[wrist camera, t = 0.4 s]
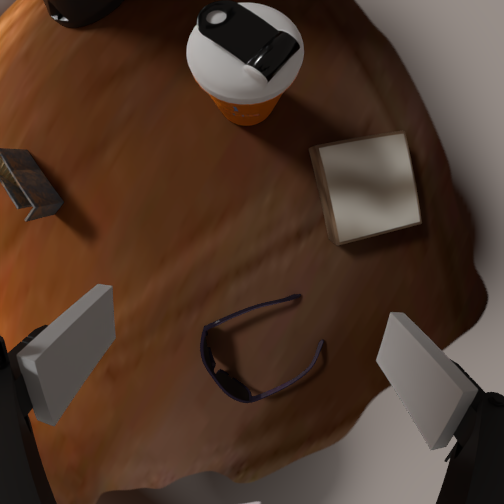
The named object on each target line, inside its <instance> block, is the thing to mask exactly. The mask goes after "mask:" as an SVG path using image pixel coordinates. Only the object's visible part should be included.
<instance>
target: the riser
mask: <svg viewBox="0 0 504 504" xmlns="http://www.w3.org/2000/svg"><path fill="white" fill-rule="evenodd" d="M309 153H310V157H311V161H312V165H313V170H314V174H315V178H316V182H317V187H318V191H319V195H320V200H321V204H322V209H323V214H324V218H325V223H326V228H327V233H328V238H329V240H330V241H331V242H333V243H334V244H335V245H337V246H338V245H342V244H346V243H350V242H353V241H357V240H361V239H365V238H369V237H373V236H377V235H380V234H384V233H388V232H392V231H396V230H399V229H403V228H407V227H411V226H415V225H418V224H422V221H421V214H420V207H419V201H418V194H417V188H416V183H415V177H414V172H413V167H412V162H411V157H410V152H409V148H408V143H407V139H406V135H405V131H396V132H389V133H383V134H376V135H370V136H364V137H358V138H352V139H347V140H341V141H336V142H330V143H325V144H320V145H315V146H313V147H311V148H309Z"/></svg>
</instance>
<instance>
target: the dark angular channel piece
mask: <svg viewBox="0 0 504 504" xmlns="http://www.w3.org/2000/svg"><path fill="white" fill-rule="evenodd" d="M0 182H1V183H2V185H3V187H4V188H5V190H6V191H7V193H8V195H9V196H10V198H11V199H12V201H13V203H14V204H15V206H16V208H17V209H20V208H25V207H31V206H33V209H32V210H31V211H30V213H29V214H28V216H27V217H26V219H25V221H30V220H34V219H38V218H42V217H46V216H50V215H54V214H55V213H56V212H57V211H58V209H59V208H60V207H61V206H62V204H63V203H64V201H63V200H62V199H61V197H60V196H59V195H58V193H57V192H56V191H55V189H54V188H53V186H52V185H51V184H50V182H49V181H48V179H47V178H46V177H45V175H44V174H43V172H42V171H41V169H40V168H39V167H38V165H37V164H36V162H35V161H34V159H33V158H32V156H31V155H30V153H29V152H28V150H21V149H3V148H0Z"/></svg>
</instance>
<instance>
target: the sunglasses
mask: <svg viewBox="0 0 504 504" xmlns="http://www.w3.org/2000/svg"><path fill="white" fill-rule="evenodd" d="M300 296H301V294H293V295H291V296H288V297H286V298H283V299H279V300H275V301H269V302H265V303H261V304H258V305H254V306H251V307H248V308H246V309H243V310H240V311H238V312H235V313H233V314H231V315H228V316H226V317H224V318H222V319H219V320H217V321H215V322H213V323H210V324H208V325H207V326H204V328H203V332H202V336H201V343H200V351H201V358H202V361H203V364H204V365H205V367H206V369H207V371H208V372H209V374H210V375H211V376H212V378H213V379H214V381H215V382H216V384H217V385H218V386H219V387H220V388H221V389H222V391H223V392H224V393H225V394H227V395H228V396H229V397H231V398H232V399H234V400H236V401H239V402H243V403H250V402H255V401H258V400H260V399H263V398H265V397H267V396H270V395H272V394H274V393H276V392H278V391H280V390H282V389H284V388H286V387H288V386H289V385H291V384H293V383H294V382H296V381H297V380H299V379H300V378H301V377H303V376H304V375H305V374H306V373H307V372H308V371H309V370H310V369H311V368H312V367H313V365H314V364H315V362H316V360H317V358H318V356H319V353H320V351H321V348H322V345H323V343H324V340H321V341H320V342H319V344H318V347H317V350H316V354H315V356H314V359H313V361H312V363H311V364H310V366H309V367H308V368H307V369H306V370H305V371H303V372H302V373H301V374H300V375H298V376H297V377H295V378H294V379H292V380H290V381H288V382H286V383H284V384H282V385H280V386H278V387H276V388H274V389H272V390H269V391H267V392H264V393H262V394H259V395H256V396H252V395H251V392H250V390H249V389H248V388H247V387H246V386H245V385H243V384H242V383H241V382H239V381H238V380H237V379H235V378H231V377H229V376H228V375H229V374H228V373H227V372H225V371H223V370H221V369H220V370H218V371H217V373H216V374H215V373H214V368H215V365H216V363H215V361H214V358H213V355H212V352H211V349H210V347H208V346H207V342H206V336H207V335H208V333H207V330H209V329H210V328H213V327H215V326H217V325H219V324H221V323H223V322H225V321H227V320H229V319H232V318H234V317H236V316H239V315H241V314H244V313H246V312H249V311H251V310H254V309H257V308H260V307H264V306H268V305H273V304H277V303H281V302H286V301H290V300H293V299H296V298H299V297H300Z"/></svg>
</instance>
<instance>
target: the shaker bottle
mask: <svg viewBox="0 0 504 504" xmlns="http://www.w3.org/2000/svg"><path fill="white" fill-rule="evenodd" d="M186 56H187V61H188V65H189V67H190V69H191V72H192V74H193V76H194V78H195V80H196V82H197V83H198V84H199V86H200V87H201V88H202V89H203V90H204V91H205V92H207V93H208V94H209V95H210V96H211V98H212V99H213V101H214V102H215V104H216V105H217V107H218V108H219V109H220V111H221V112H222V114H223V115H224V116H225V117H226V118H227V119H228V120H229V121H231V122H232V123H235V124H237V125H242V126H251V125H255V124H258V123H260V122H262V121H263V120H265V119H266V118H267V117H268V116H269V115H270V113H271V112H272V110H273V108H274V107H275V105H276V104H277V102H278V100H279V99H280V97H281V96H282V94H283V92H285V91H286V90H287V89H288V88H289V87H290V86H291V84H292V83H293V82H294V80H295V79H296V77H297V75H298V72H299V70H300V67H301V65H302V62H303V56H304V45H303V41H302V37H301V34H300V33H299V31H298V29H297V27H296V26H295V25H294V23H293V22H292V21H291V20H290V19H289V18H288V17H286V16H285V15H284V14H282V13H281V12H279V11H277V10H276V9H274V8H272V7H269V6H265V5H262V4H257V3H236V2H234V1H217V2H213V3H210V4H208V5H206V6H205V7H204V8H203V9H202V10H201V11H200V12H199V15H198V17H197V25H196V26H195V27H194V29H193V31H192V33H191V34H190V36H189V40H188V43H187V54H186Z"/></svg>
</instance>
